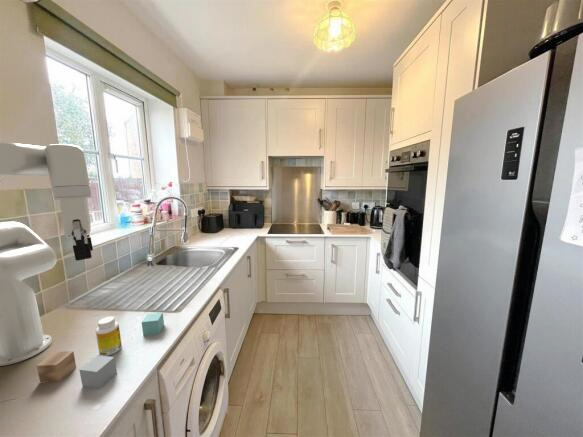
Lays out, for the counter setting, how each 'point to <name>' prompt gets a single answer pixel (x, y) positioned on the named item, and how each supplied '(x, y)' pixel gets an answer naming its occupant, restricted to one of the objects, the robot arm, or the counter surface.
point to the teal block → (153, 323)
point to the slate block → (98, 372)
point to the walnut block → (56, 366)
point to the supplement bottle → (108, 336)
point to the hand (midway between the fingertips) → (85, 255)
